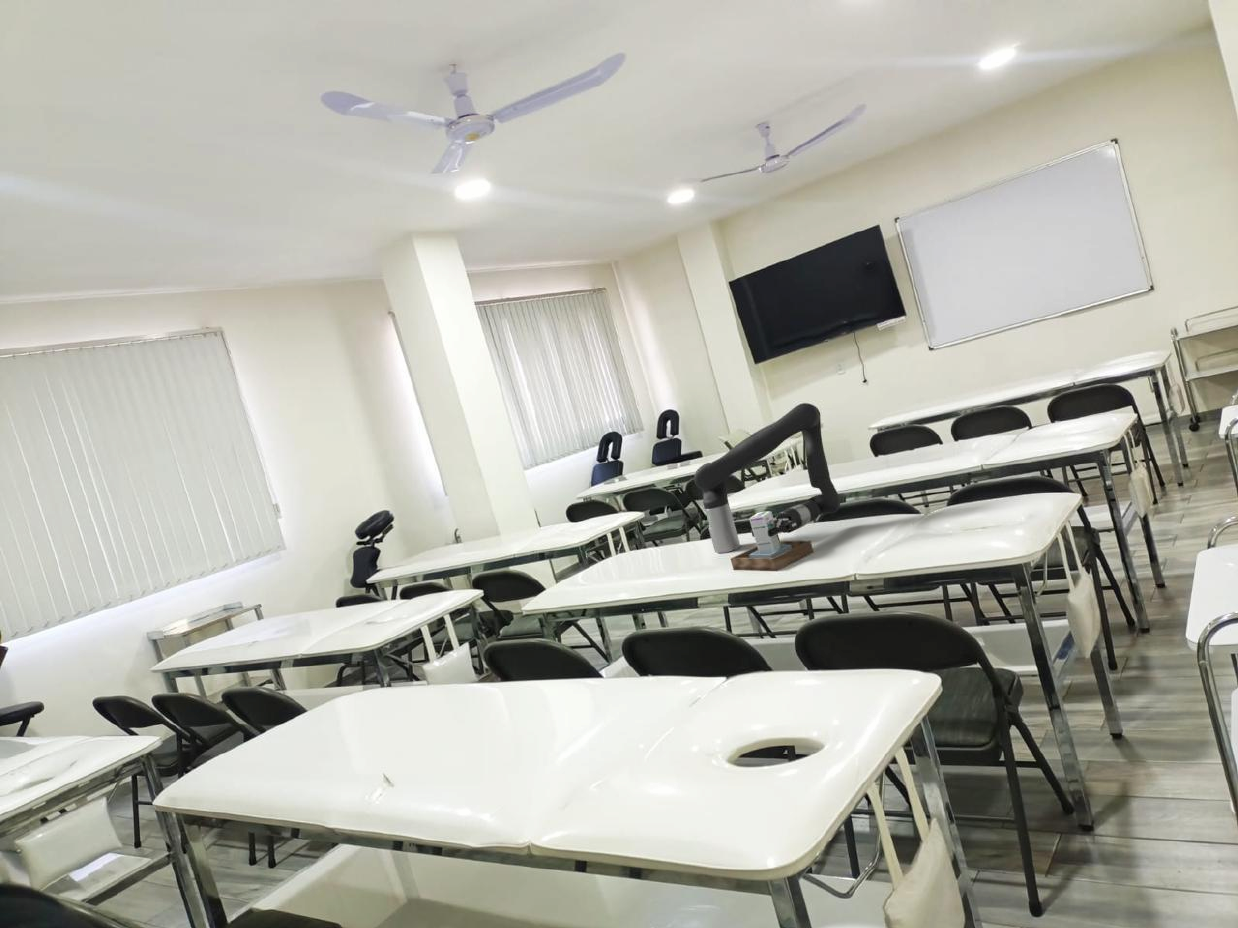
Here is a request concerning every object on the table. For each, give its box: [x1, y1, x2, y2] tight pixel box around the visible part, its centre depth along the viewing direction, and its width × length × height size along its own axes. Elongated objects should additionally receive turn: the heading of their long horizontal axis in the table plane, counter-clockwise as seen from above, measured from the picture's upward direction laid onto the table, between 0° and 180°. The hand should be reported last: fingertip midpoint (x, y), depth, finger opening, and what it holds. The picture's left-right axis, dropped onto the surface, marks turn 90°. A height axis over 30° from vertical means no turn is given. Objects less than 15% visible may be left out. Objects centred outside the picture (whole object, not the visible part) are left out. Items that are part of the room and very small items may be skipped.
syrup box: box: [748, 510, 782, 554], centre depth 269 cm, size 6×6×14 cm
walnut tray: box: [730, 540, 814, 572], centre depth 270 cm, size 20×18×4 cm
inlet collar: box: [749, 545, 792, 558], centre depth 270 cm, size 10×10×3 cm
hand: (760, 533), depth 268 cm, fingers open, 7 cm apart
